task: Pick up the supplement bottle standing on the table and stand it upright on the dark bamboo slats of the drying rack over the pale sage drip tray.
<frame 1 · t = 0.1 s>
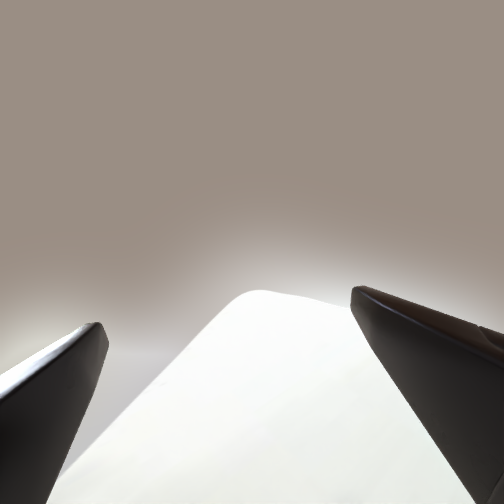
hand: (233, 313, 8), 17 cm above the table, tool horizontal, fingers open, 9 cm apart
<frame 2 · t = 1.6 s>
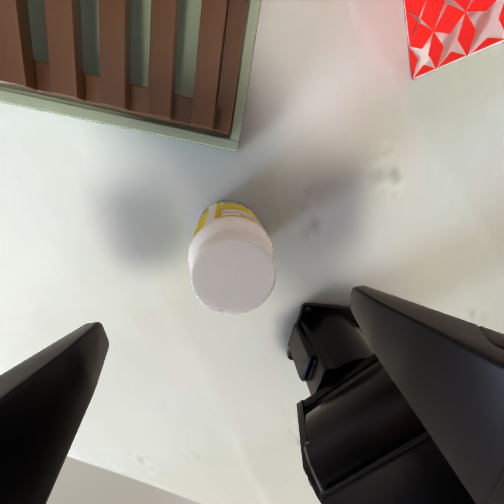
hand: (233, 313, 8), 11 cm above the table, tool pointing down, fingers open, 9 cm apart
supplement bottle: (228, 228, 19), on the table
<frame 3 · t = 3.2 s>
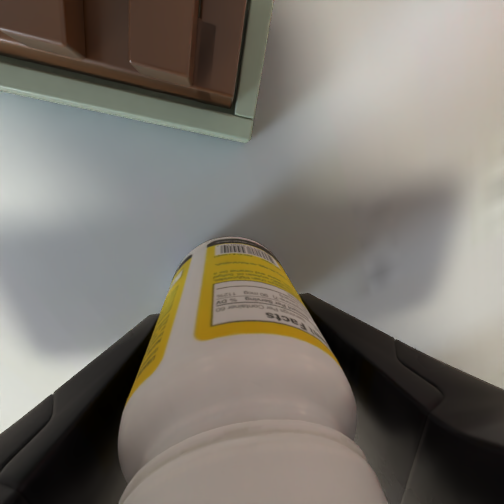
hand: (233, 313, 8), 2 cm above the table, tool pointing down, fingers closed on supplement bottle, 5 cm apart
supplement bottle: (230, 283, 11), on the table, touching gripper
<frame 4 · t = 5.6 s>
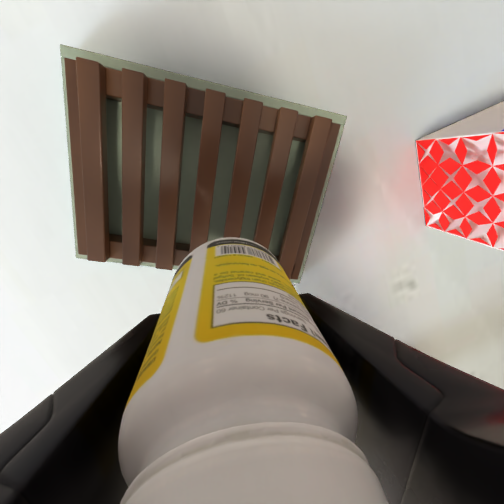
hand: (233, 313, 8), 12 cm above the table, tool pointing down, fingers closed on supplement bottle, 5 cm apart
drip tray: (207, 188, 19), on the table
red and white cube: (462, 167, 21), on the table
supplement bottle: (230, 283, 10), point 10 cm above the table, touching gripper
drying rack: (207, 188, 19), resting on drip tray
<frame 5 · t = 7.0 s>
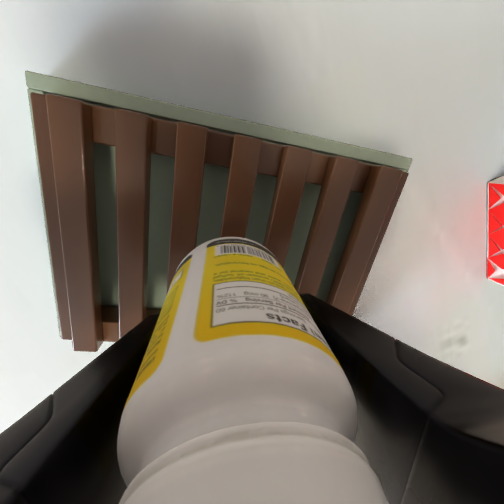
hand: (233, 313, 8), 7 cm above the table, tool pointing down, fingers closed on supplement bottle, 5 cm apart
drip tray: (226, 245, 15), on the table
supplement bottle: (230, 283, 10), point 5 cm above the table, touching gripper
drying rack: (226, 245, 15), resting on drip tray
when the fingers open (5 cm above the table, at t = 7.9 s): supplement bottle stays where it is, resting on drying rack.
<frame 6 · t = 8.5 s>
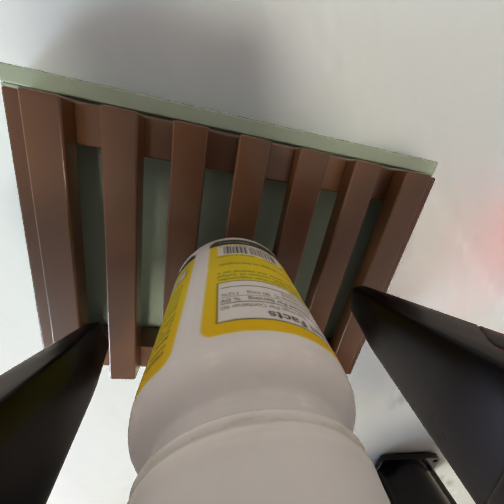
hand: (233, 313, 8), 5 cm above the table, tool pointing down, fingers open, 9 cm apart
drip tray: (229, 257, 13), on the table
supplement bottle: (232, 283, 11), point 3 cm above the table, touching drying rack
drying rack: (229, 257, 13), resting on drip tray
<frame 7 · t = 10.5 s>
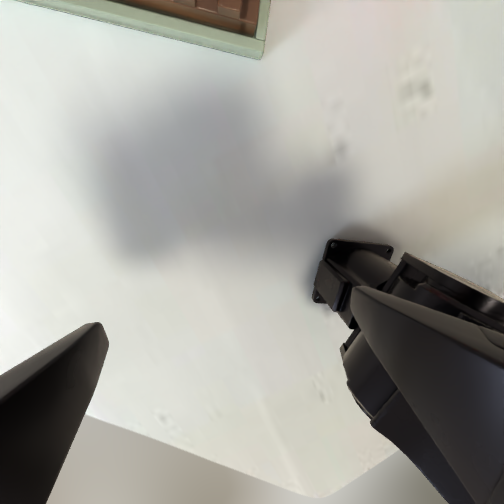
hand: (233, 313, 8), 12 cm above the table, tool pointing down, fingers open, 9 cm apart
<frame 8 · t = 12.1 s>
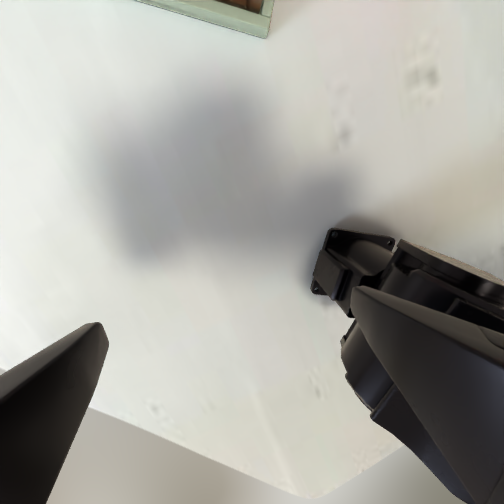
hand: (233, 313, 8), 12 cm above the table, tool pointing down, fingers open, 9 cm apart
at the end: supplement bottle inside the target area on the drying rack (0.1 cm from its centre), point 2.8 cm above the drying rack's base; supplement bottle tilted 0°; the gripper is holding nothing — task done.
